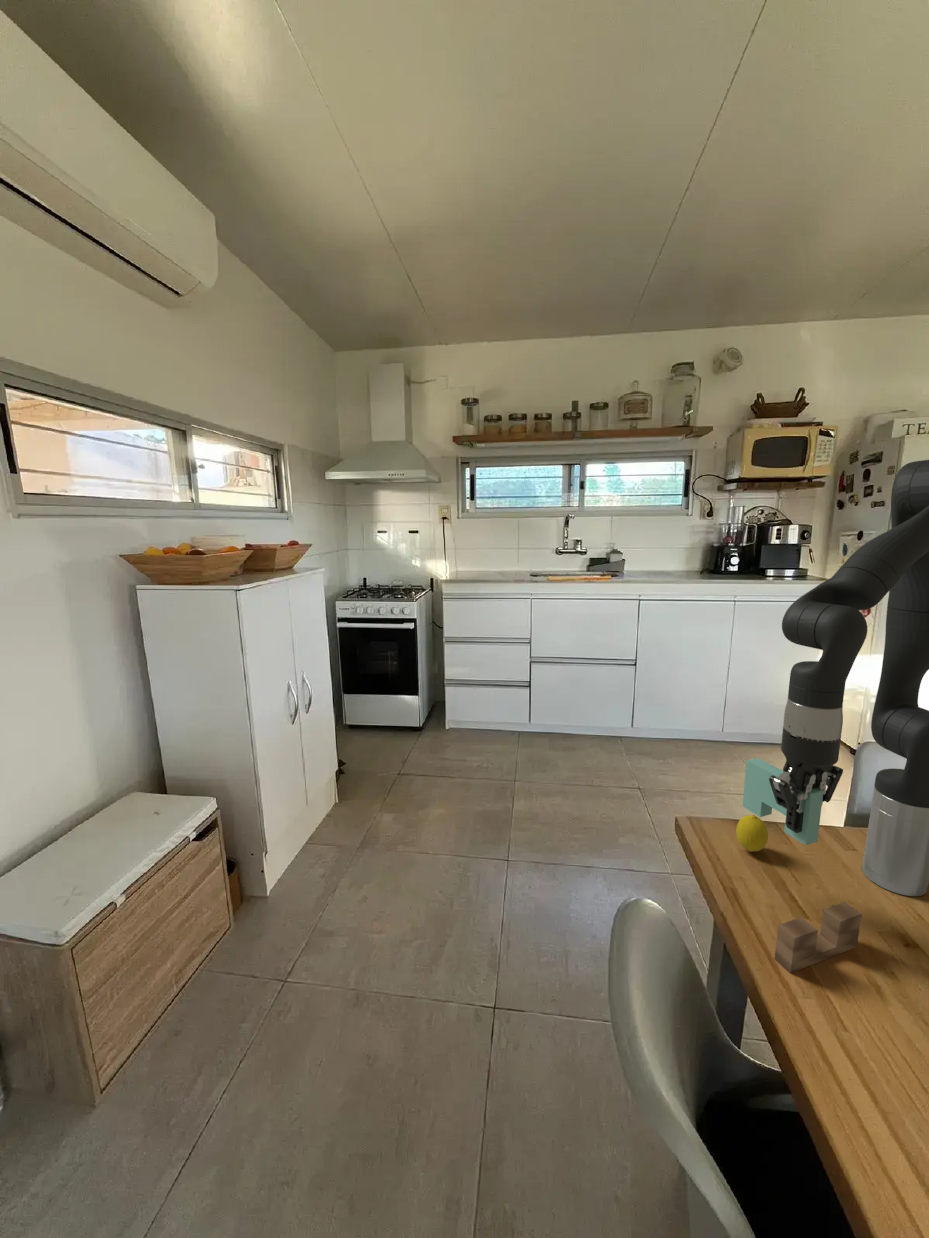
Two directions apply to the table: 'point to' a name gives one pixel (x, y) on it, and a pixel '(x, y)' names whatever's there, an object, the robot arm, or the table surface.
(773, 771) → the teal arch block
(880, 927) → the table surface
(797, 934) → the brown wooden u-shaped block
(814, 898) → the table surface
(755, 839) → the lemon
